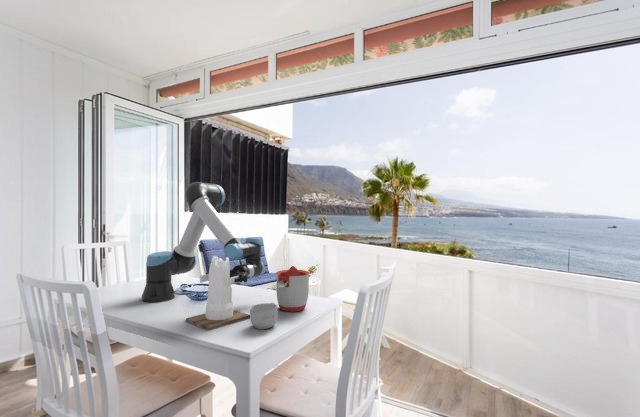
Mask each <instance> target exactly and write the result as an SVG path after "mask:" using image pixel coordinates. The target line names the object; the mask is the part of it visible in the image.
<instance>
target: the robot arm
mask: <svg viewBox="0 0 640 417" xmlns="http://www.w3.org/2000/svg"><path fill="white" fill-rule="evenodd" d="M184 192H185V193H184V198H185V201H186V203H187V205H188V206H189V208H190V209H191V211H193V212H192V214H191V216H190V219H189V221H188V223H187V225H186V227H185V229H184V233H183V235H182V236H181V239H180V241H179V244H178V245H176V246H174V248H173V250H172V251H167V250H165V251H156V252H152V253H150V254H148V255H147V257H146V262H145V263H146V264H145V265H146V270H145V273H146V274H145V275H146V276H145V277H146V279H145V286H144V289H143V291H142V294H141V301H142V302H146V303H158V302H165V301H169V300H173V299H174V298H175V295H176V293H175V290H174V286H173V284H172V276H175V275H181V274H182V275H183V274H186V273H189V272H191V271H192V270H194V268H195V267H196V266H197V253H196V252H195V250H196V247H197V245H198V243H199V240H200V238H201V237H202V234H203V231H204V229H205V227H206V226H207V228H208V229H209V230H210V231H211V232H212V234H213V235H214V237H215V238H216V240H217V241H218V242H219V243H220V244H221V246H222V247H223V248H224V250H223V253H224V258H225V259H226V258H227V257H228V258H229V261H240V260H242V259H245V260H244V261H245V263H241V264H238V265H234V266H233V268H231V269H230V278H228V285H230V286H232V285H235V284H238V283H242V282H243V283H247V282H248V280H249V279H253V278H256V277H258V276H261V275H262V274H263V273H264V271H265V269H266V268H265V264H264V263H263V262H262V242H261V239H262V238H260V237H246V238H245V241H244V242H242V241H240V239H239V238H238V237H237V235H236V234H235V233H234V232H233V231H232V229H231V228H230V226H229V225H228V224H227V222H225V221H224V219H223V218H222V216H220V214H219V213H218V212H217V208H218V207H220V206H221V205H223V204H224V202H225V199H226V193H225V190H224V188H223V187H222V186H221V185H219V184H216V183H209V182H203V181H195V182H192V183H190V184H189V185H188V186H187V187H186V189H185V191H184ZM205 282H206V283H207V282H209V271H207V272H205V274H202V275H200V276H199V283H200V284H202V283H205Z"/></svg>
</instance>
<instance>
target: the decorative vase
mask: <svg viewBox="0 0 640 417" xmlns="http://www.w3.org/2000/svg"><path fill="white" fill-rule="evenodd" d="M211 257H212V258H211V260H210V265H209V270H208V273H209V281H208V290H207V302H206V305H205V313H206V319H208V320H213V321H216V320H225V319H229V318H231V317H232V316H233V310H234V304H233V300H232V298H233V288H232V285H228V278H230V270H231V264H230V260H229V258H228V257H227V258H226V257H225V260H224V259H223V258H221V257H219V256H217V255H212V256H211Z"/></svg>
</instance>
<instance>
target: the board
mask: <svg viewBox="0 0 640 417" xmlns="http://www.w3.org/2000/svg"><path fill="white" fill-rule="evenodd" d="M247 319H250V314H248V313H245V312H241V311H238V310H234V309H233V316H232V317H231V318H229V319H225V320H216V321H213V320H208V319H206V312H205V313H202V314H198V315H194V316H190V317H187V318H185V322H186V323H189V324H192V325H194V326H196V327H199V328H201V329H204V330H206V331H212V330H214V329H219V328H221V327H224V326H227V325H231V324H234V323H237V322H241V321H245V320H247Z"/></svg>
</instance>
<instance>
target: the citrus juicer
mask: <svg viewBox="0 0 640 417" xmlns="http://www.w3.org/2000/svg"><path fill="white" fill-rule="evenodd" d="M275 273H276V289H275V290H276V300H277V304H278V305H277V306H278V307H279V309H280V310H281V311H285V312H292V313H296V312H301V311H303V310H305V309H306V306H307V302H308V300H309V291H310V287H309V286H310V271H307V270H303V269H297V267H295V265H291V266H290V267H289V268H288V269H285V270H284V269H282V270H278V271H276V272H275Z"/></svg>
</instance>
